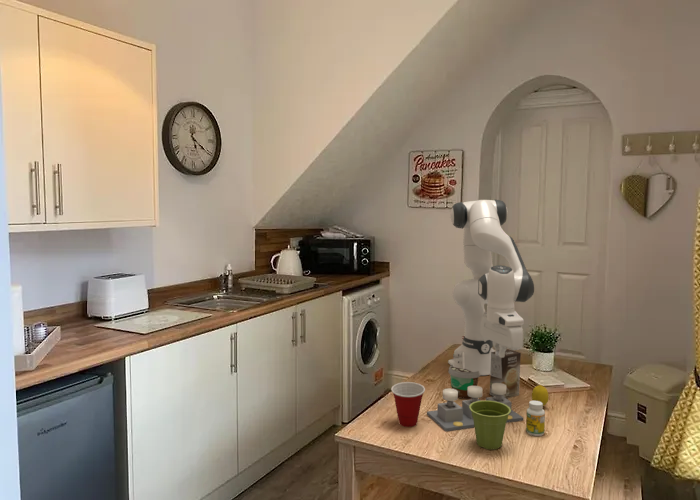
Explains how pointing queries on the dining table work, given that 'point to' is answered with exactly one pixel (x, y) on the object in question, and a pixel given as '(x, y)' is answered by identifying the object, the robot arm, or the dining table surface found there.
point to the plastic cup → (408, 402)
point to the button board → (464, 415)
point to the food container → (462, 380)
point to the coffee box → (506, 372)
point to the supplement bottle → (535, 419)
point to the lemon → (540, 394)
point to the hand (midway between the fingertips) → (499, 356)
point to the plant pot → (489, 422)
